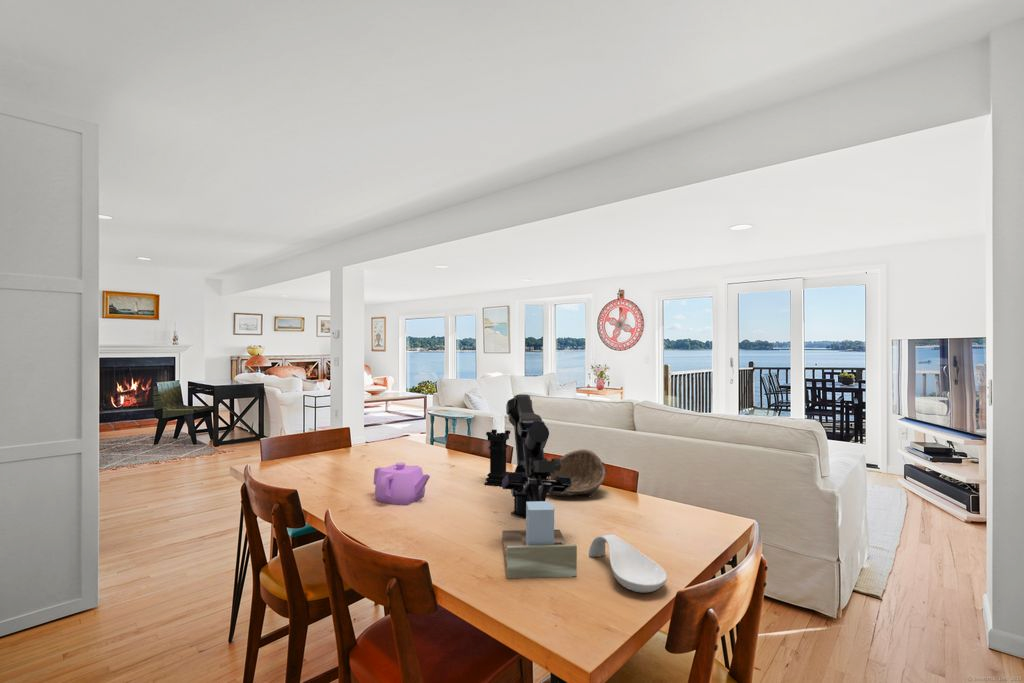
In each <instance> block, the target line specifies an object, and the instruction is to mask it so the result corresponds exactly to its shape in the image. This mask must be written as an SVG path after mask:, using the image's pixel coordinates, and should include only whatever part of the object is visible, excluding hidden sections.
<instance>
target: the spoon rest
mask: <svg viewBox="0 0 1024 683" xmlns="http://www.w3.org/2000/svg"><path fill="white" fill-rule="evenodd" d="M606 543H607V546H608V553H609V554H608V555H609V563H610V568H611V571H612V574H613V575H614V577H615V579H616V581H617V582H618V583H619V584H620V585H621V586H623V587H624V588H625V589H627V590H630V591H631V590H632V592H636V593H640V594H641V593H642V594H643V593H644V594H645V593H652V592H655V591H657V590H658V589H659V590H660V588H662V586H664V585H665V583H666V582H667V580H668V574H667V572H666V570H665V569H664V568H663V567H662V566H661V565H660V564H658V563H657V562H655V561H654V560H653V559H652V558H649V557H648V556H646V555H645V554H644V553H642V552H641V551H639V550H638V549H636V548H635V547H634V546H632V545H630V544H629V543H628V542H626V541H625V540H623V539H622V538H621V537H619V536H617V535H614V534H612V533H611V534H606V535H598V536H596V537H595V538H594V539H593V540H592V542H591V544H590V546H589V551H588V556H589V557H590V558H591V557H592V558H594V557H595V556H597V557H601V556H600V555H602V556H604V554H606Z"/></svg>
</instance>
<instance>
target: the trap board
mask: <svg viewBox="0 0 1024 683" xmlns="http://www.w3.org/2000/svg"><path fill="white" fill-rule="evenodd" d="M501 532H502V535H501V536H502V538H501V539H502V546H503V553H504V554H503V555H504V562H505V568H506V569H505V570H506V578H507V579H534V578H537V579H538V578H541V579H542V578H573V577H572V576H578V575H577V574H578V573H577V572H578V570H577V569H578V568H577V565H578V563H577V556H578V553H577V552H578V548H577V546H578V545H577V544H576V543H575V544H567V543H566V541H565V538H564V536H563V533H562V531H561V529H554V545H528V546H526V529H524V530H523V529H522V530H521V529H520V530H519V529H517V530H512V529H511V530H509V529H508V530H502V531H501Z"/></svg>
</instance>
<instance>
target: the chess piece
mask: <svg viewBox="0 0 1024 683" xmlns="http://www.w3.org/2000/svg"><path fill="white" fill-rule="evenodd" d="M510 434H511V430H508V429H507V430H506V429H505V431H504V432H498V430H497V429H491V431H486V432H485V436H487V441H488V442H489V446H488V449H489V463H490V464H489V473H488V474H487V476H486V478H485V482H484V486H488V487H489V486H490V487H497V486H499V488H502V480H503V478H504V477H505V476H506V475H507V474H508V473H509V472H510V471H507V448H508V445H507V441H508V440H510Z"/></svg>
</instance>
